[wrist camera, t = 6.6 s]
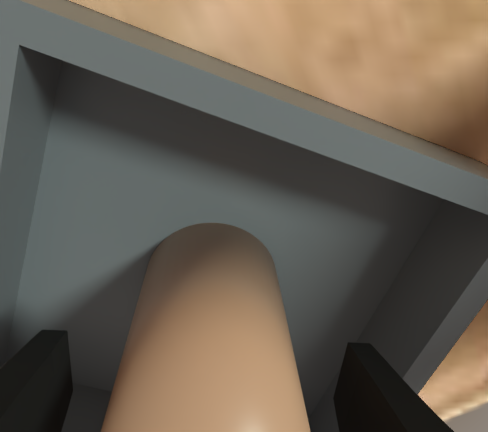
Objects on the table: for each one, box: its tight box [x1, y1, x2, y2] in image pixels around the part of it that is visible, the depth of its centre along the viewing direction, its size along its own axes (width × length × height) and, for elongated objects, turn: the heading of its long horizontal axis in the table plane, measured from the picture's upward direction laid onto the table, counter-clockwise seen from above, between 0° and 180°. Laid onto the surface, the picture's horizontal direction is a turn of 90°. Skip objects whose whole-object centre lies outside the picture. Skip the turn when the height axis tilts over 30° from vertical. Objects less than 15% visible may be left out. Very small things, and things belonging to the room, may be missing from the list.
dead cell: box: [101, 223, 311, 432], centre depth 11 cm, size 4×4×9 cm
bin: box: [0, 0, 488, 432], centre depth 14 cm, size 14×14×4 cm
